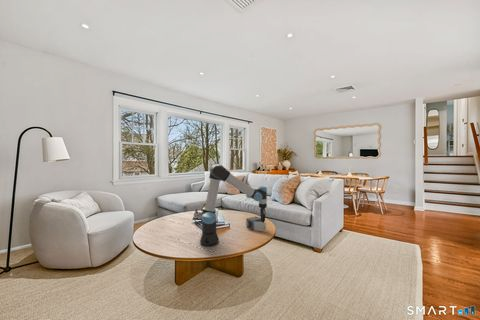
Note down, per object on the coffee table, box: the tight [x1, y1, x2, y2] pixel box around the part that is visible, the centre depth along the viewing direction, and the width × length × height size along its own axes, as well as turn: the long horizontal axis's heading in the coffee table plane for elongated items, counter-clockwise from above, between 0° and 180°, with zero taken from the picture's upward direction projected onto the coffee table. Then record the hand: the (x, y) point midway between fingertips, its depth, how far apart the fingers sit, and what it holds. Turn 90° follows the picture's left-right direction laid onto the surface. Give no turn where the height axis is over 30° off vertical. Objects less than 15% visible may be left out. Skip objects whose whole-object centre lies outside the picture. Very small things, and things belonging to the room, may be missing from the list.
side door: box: [252, 221, 267, 232], centre depth 195 cm, size 12×2×8 cm, turn 69°
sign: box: [192, 202, 206, 221], centre depth 224 cm, size 22×3×20 cm, turn 94°
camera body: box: [245, 215, 261, 231], centre depth 205 cm, size 14×9×10 cm, turn 127°
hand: (262, 227), depth 198 cm, fingers closed
